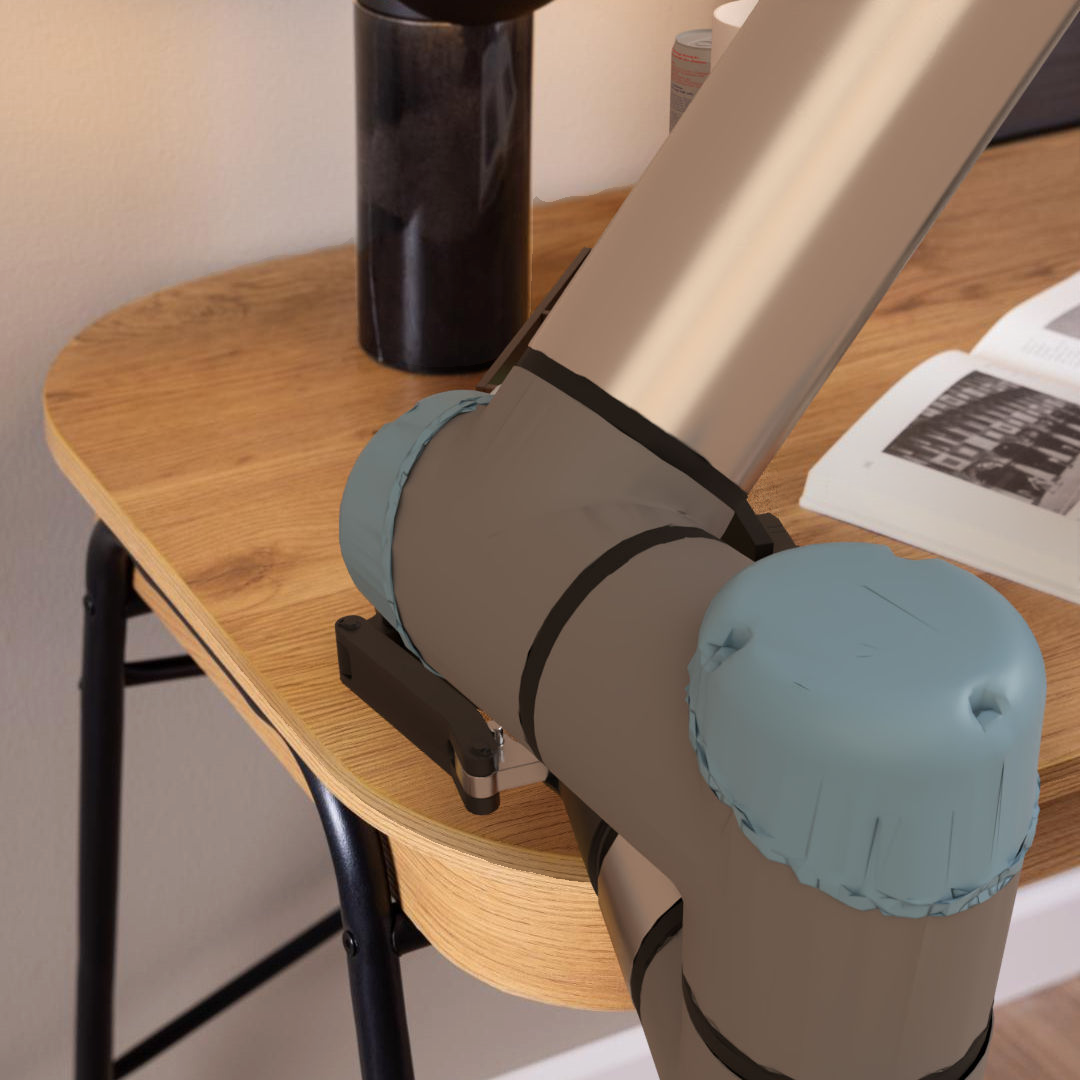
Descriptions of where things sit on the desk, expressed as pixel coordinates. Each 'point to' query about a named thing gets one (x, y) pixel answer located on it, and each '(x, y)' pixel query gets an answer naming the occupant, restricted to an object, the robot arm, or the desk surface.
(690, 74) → the energy drink
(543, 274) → the desk surface
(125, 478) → the desk surface
